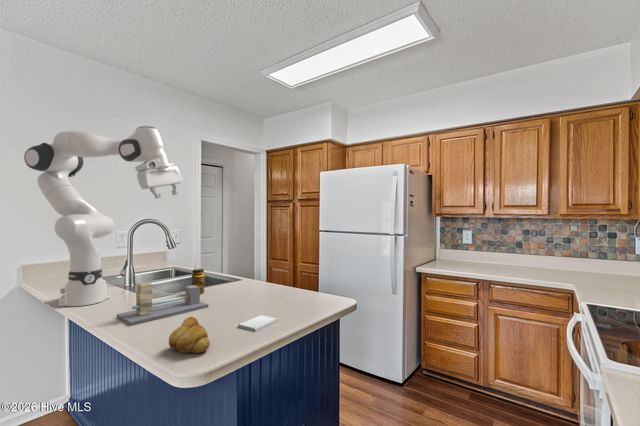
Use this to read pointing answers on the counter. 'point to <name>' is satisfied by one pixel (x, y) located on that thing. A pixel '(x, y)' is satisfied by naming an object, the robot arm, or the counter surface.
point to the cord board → (166, 307)
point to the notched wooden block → (144, 298)
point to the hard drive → (257, 323)
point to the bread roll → (189, 337)
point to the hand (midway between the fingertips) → (166, 196)
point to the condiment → (198, 279)
